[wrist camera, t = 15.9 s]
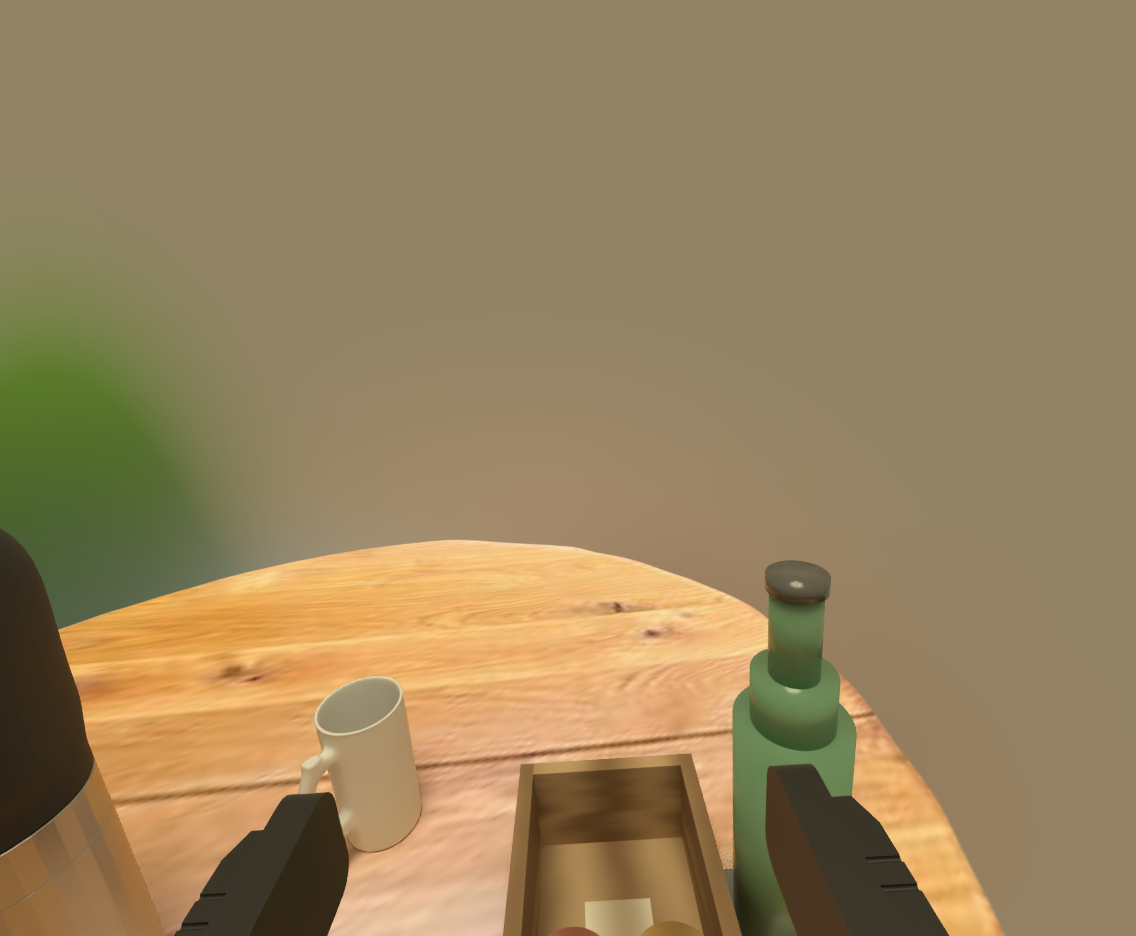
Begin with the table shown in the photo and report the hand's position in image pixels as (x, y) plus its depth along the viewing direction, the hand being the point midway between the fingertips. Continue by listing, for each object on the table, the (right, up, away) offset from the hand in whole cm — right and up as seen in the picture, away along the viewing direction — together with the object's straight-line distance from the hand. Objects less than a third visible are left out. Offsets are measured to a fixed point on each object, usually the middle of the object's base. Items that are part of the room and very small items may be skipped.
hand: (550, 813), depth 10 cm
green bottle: (+14, -24, +24) cm, 37 cm away
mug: (-16, -25, +35) cm, 46 cm away
